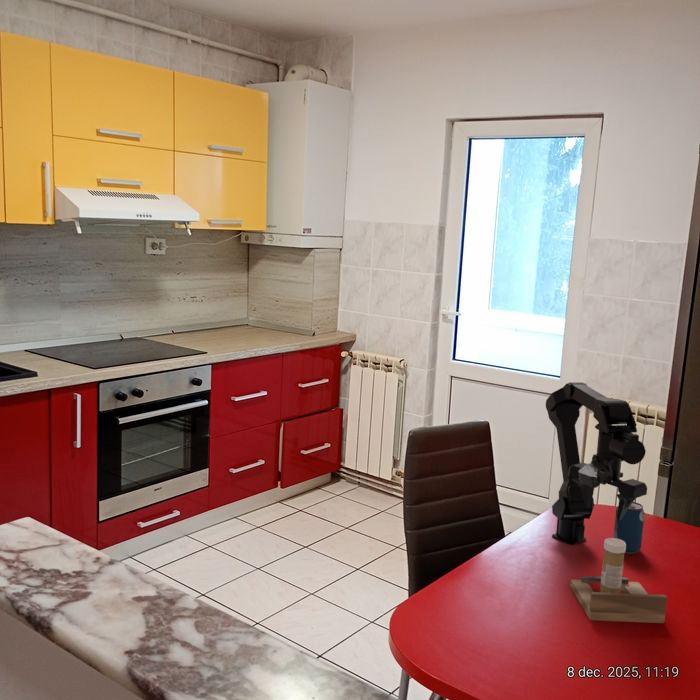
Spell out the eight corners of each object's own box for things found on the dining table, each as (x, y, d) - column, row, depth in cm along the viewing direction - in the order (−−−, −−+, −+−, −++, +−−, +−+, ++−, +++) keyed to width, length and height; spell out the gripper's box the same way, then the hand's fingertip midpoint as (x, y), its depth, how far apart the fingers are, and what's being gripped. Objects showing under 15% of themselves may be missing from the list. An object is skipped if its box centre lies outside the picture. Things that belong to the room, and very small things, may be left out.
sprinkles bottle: (601, 591, 172) (606, 535, 170) (622, 596, 170) (627, 540, 167) (597, 599, 168) (602, 542, 166) (618, 605, 166) (624, 547, 163)
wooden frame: (570, 586, 173) (572, 562, 172) (637, 589, 173) (640, 565, 172) (590, 620, 159) (592, 594, 158) (664, 623, 159) (667, 597, 158)
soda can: (646, 551, 195) (651, 507, 193) (628, 556, 191) (633, 511, 189) (624, 541, 201) (628, 498, 199) (606, 546, 197) (610, 502, 195)
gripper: (556, 446, 185) (551, 507, 187) (622, 467, 170) (615, 533, 172) (585, 440, 191) (580, 499, 194) (651, 460, 176) (644, 524, 178)
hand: (603, 513), depth 184 cm, fingers open, 9 cm apart
